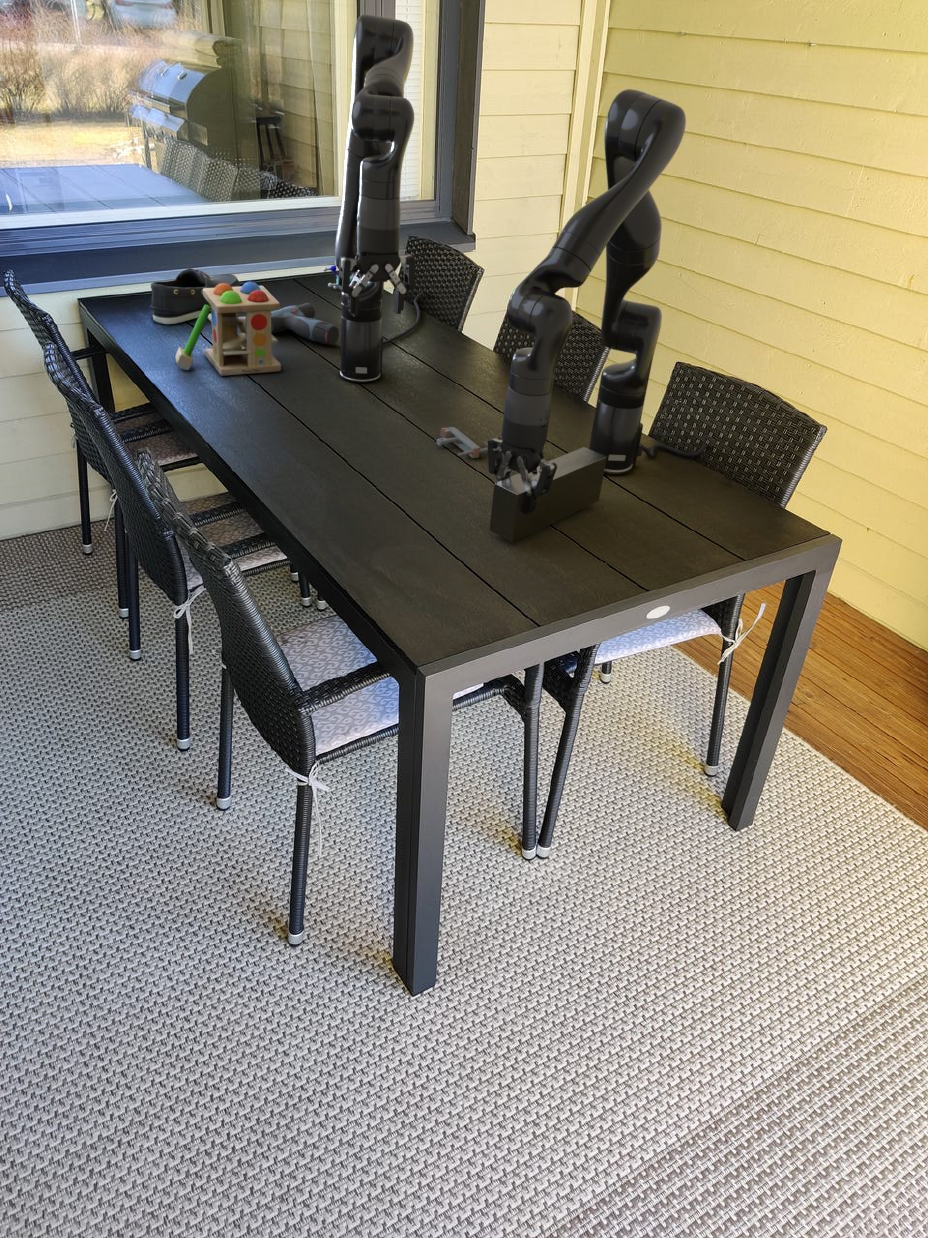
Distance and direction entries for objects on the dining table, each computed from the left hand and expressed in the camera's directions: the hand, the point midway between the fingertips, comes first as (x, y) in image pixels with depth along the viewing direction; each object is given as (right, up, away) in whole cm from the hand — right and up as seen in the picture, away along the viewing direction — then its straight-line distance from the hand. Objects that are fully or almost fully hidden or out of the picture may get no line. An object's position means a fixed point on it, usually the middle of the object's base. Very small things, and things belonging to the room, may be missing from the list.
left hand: (376, 314), depth 182 cm
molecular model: (-19, +39, +105) cm, 114 cm away
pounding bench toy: (-40, +3, +48) cm, 63 cm away
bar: (+31, -38, -3) cm, 49 cm away
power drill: (-23, +17, +72) cm, 77 cm away
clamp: (+17, -22, +20) cm, 34 cm away
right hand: (+25, -37, -12) cm, 46 cm away
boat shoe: (-55, +27, +81) cm, 101 cm away
